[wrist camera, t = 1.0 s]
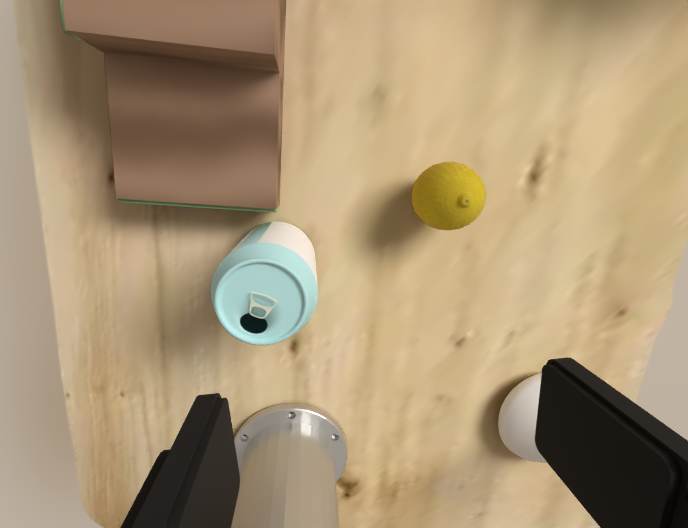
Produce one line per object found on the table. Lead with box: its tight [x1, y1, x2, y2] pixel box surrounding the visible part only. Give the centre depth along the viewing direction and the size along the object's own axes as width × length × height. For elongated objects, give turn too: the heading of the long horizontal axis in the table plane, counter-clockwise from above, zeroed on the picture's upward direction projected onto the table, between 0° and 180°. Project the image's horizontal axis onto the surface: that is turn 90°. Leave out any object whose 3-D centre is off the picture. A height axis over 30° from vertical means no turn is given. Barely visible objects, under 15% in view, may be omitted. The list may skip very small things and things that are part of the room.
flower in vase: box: [498, 373, 547, 463], centre depth 29 cm, size 13×11×25 cm
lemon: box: [411, 162, 486, 230], centre depth 29 cm, size 6×6×8 cm
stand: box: [60, 0, 286, 213], centre depth 25 cm, size 20×12×8 cm, turn 176°
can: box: [211, 222, 318, 345], centre depth 28 cm, size 7×7×12 cm
